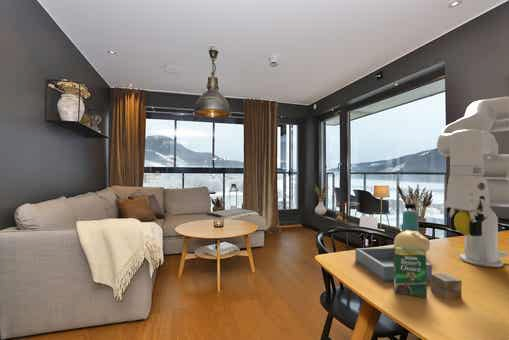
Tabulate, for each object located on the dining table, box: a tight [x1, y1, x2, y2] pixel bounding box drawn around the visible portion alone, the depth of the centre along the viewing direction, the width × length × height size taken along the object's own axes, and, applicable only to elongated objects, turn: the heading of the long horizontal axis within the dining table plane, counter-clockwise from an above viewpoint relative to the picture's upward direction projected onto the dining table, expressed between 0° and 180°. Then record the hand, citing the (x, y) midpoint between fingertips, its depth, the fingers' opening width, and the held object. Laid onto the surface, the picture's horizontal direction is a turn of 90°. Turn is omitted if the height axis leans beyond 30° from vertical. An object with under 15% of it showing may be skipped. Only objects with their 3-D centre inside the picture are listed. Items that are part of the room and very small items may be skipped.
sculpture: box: [393, 230, 431, 253], centre depth 105 cm, size 11×12×11 cm
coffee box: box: [392, 246, 428, 298], centre depth 74 cm, size 8×3×13 cm, turn 69°
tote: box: [354, 246, 433, 283], centre depth 91 cm, size 16×18×5 cm
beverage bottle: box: [402, 203, 420, 232], centre depth 118 cm, size 6×7×20 cm
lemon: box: [454, 210, 472, 237], centre depth 76 cm, size 6×6×8 cm
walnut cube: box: [430, 272, 463, 300], centre depth 74 cm, size 5×5×5 cm
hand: (465, 232), depth 76 cm, fingers closed on lemon, 5 cm apart
